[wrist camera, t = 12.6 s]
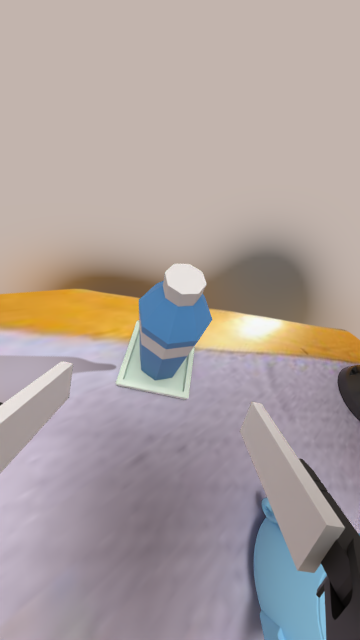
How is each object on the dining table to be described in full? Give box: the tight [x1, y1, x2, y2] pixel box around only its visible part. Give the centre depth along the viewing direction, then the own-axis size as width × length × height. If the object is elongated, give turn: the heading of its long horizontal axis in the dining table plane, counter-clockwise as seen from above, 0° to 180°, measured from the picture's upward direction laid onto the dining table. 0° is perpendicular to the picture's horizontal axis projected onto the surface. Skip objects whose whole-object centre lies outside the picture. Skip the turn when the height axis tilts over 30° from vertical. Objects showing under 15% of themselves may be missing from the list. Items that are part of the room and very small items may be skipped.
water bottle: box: [139, 264, 212, 381], centre depth 27 cm, size 9×9×25 cm
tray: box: [116, 320, 195, 400], centre depth 37 cm, size 14×14×2 cm
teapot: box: [254, 498, 360, 640], centre depth 22 cm, size 15×17×11 cm
